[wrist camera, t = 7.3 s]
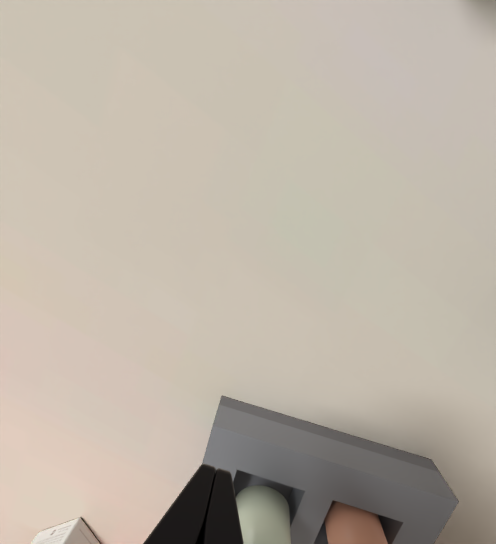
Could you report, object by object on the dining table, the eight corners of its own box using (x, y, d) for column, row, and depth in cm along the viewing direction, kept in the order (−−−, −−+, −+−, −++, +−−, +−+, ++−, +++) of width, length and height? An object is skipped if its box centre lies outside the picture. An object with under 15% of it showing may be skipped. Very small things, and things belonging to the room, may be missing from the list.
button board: (431, 459, 20) (460, 505, 16) (347, 615, 24) (358, 675, 21) (221, 395, 20) (212, 427, 17) (176, 557, 25) (162, 606, 21)
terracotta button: (382, 497, 19) (403, 550, 16) (364, 533, 20) (380, 591, 17) (331, 481, 20) (342, 530, 16) (315, 518, 20) (322, 572, 17)
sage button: (296, 495, 18) (300, 554, 15) (280, 535, 19) (281, 599, 16) (241, 478, 18) (234, 532, 15) (228, 519, 19) (219, 578, 16)
